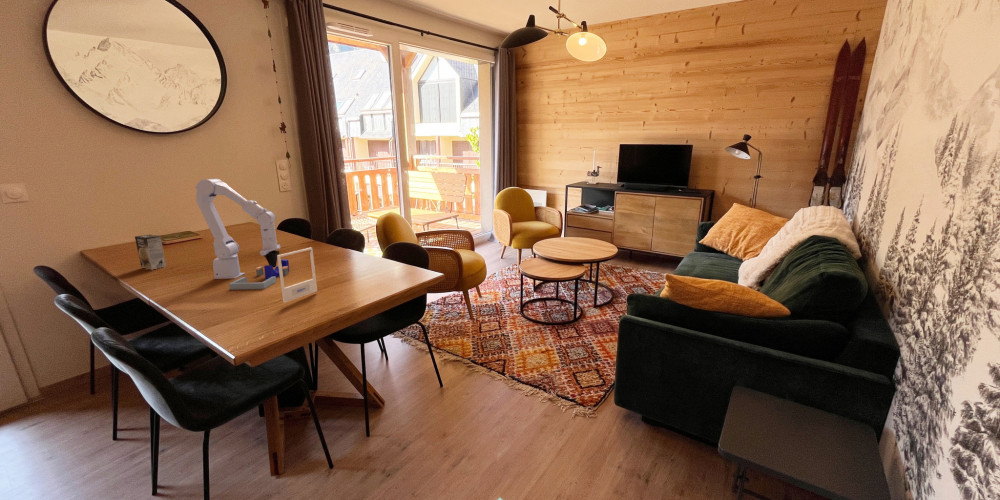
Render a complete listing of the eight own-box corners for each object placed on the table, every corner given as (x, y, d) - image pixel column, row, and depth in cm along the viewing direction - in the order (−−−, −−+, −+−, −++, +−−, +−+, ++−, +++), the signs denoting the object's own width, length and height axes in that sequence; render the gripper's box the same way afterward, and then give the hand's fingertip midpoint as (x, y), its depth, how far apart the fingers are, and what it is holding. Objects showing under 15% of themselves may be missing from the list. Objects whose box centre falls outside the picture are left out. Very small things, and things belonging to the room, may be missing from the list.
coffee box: (140, 268, 196) (133, 236, 192) (155, 265, 202) (149, 234, 198) (152, 270, 193) (145, 237, 189) (167, 267, 198) (160, 235, 195)
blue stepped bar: (280, 271, 190) (279, 259, 189) (289, 272, 189) (288, 259, 188) (262, 278, 178) (261, 265, 177) (271, 279, 178) (270, 266, 176)
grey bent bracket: (229, 289, 164) (228, 283, 163) (243, 282, 174) (243, 276, 173) (264, 288, 164) (263, 283, 164) (276, 281, 174) (275, 276, 174)
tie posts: (256, 276, 183) (255, 268, 182) (260, 274, 186) (259, 266, 185) (285, 275, 183) (284, 267, 183) (288, 273, 186) (288, 266, 186)
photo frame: (285, 302, 148) (279, 255, 144) (283, 302, 149) (277, 255, 145) (317, 291, 161) (312, 247, 157) (315, 290, 162) (310, 247, 158)
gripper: (270, 241, 175) (274, 271, 178) (285, 235, 189) (289, 262, 192) (253, 241, 175) (257, 271, 178) (270, 235, 189) (274, 263, 192)
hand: (273, 267), depth 185 cm, fingers closed, pressing on blue stepped bar
